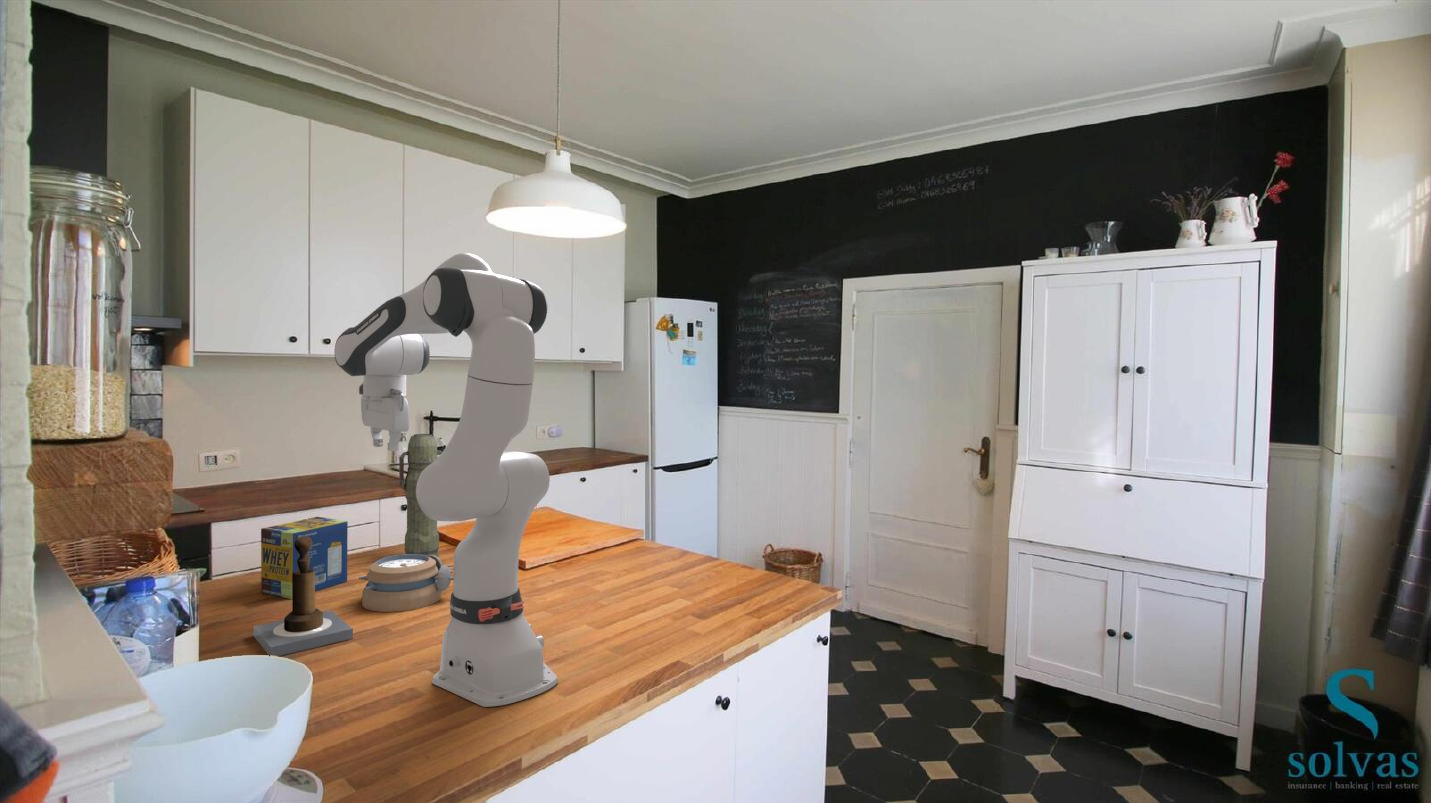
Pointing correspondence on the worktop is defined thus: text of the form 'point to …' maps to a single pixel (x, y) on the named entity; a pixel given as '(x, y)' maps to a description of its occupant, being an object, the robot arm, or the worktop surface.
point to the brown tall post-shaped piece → (303, 593)
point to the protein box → (283, 555)
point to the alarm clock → (405, 582)
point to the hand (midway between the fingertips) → (385, 448)
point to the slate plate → (301, 635)
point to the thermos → (419, 526)
